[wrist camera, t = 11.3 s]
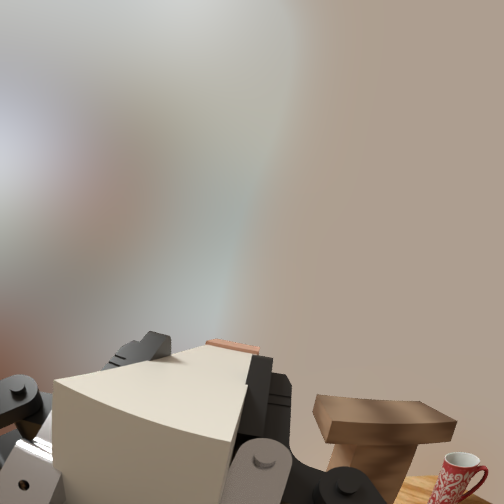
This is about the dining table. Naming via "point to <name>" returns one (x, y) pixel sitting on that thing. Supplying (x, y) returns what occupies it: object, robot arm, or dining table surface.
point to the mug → (456, 478)
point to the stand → (379, 436)
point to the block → (151, 427)
